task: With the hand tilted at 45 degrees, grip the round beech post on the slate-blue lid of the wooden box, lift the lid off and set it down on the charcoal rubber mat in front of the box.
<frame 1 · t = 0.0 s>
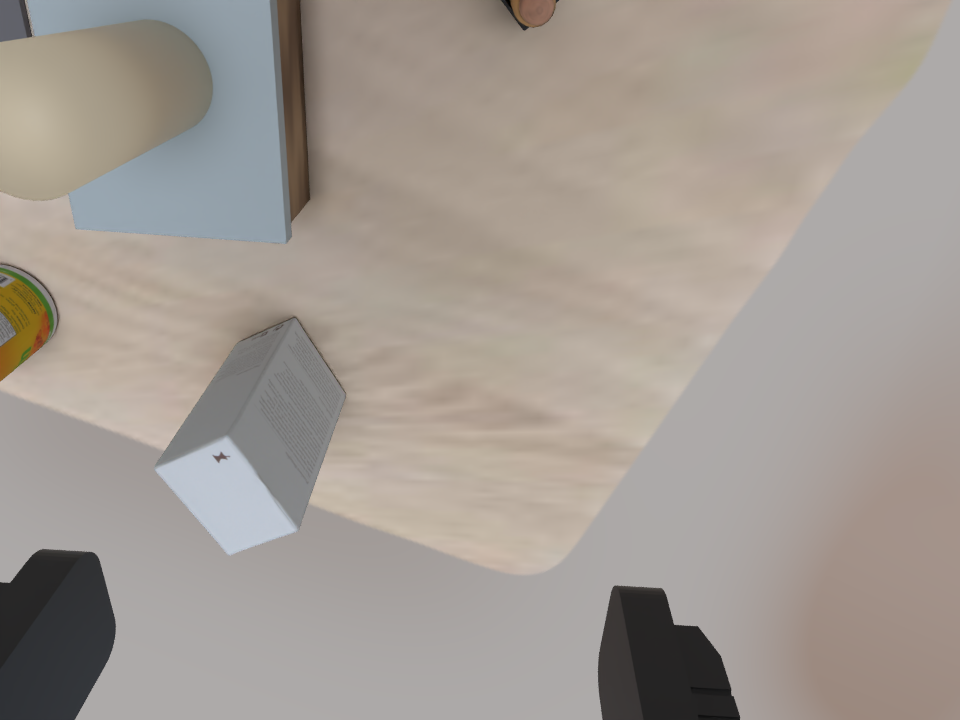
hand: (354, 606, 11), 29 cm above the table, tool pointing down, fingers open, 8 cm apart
wooden box: (210, 61, 35), on the table
supplement bottle: (14, 304, 42), on the table
lid: (168, 75, 31), point 5 cm above the table, touching wooden box
skincare box: (294, 368, 43), on the table
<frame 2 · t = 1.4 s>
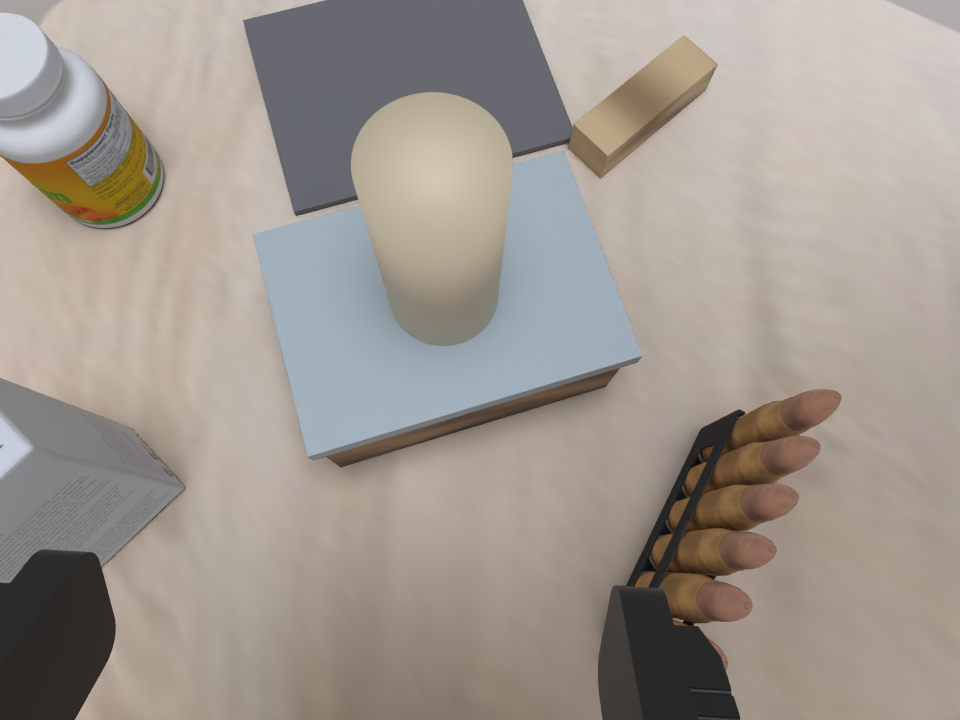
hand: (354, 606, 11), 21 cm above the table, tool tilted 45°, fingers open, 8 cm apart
wooden box: (447, 338, 35), on the table
supplement bottle: (115, 185, 37), on the table
mat: (406, 82, 39), on the table
ammunition clip: (671, 538, 33), on the table
lid: (444, 302, 30), point 5 cm above the table, touching wooden box
wooden block: (636, 121, 39), on the table
skincare box: (108, 504, 33), on the table
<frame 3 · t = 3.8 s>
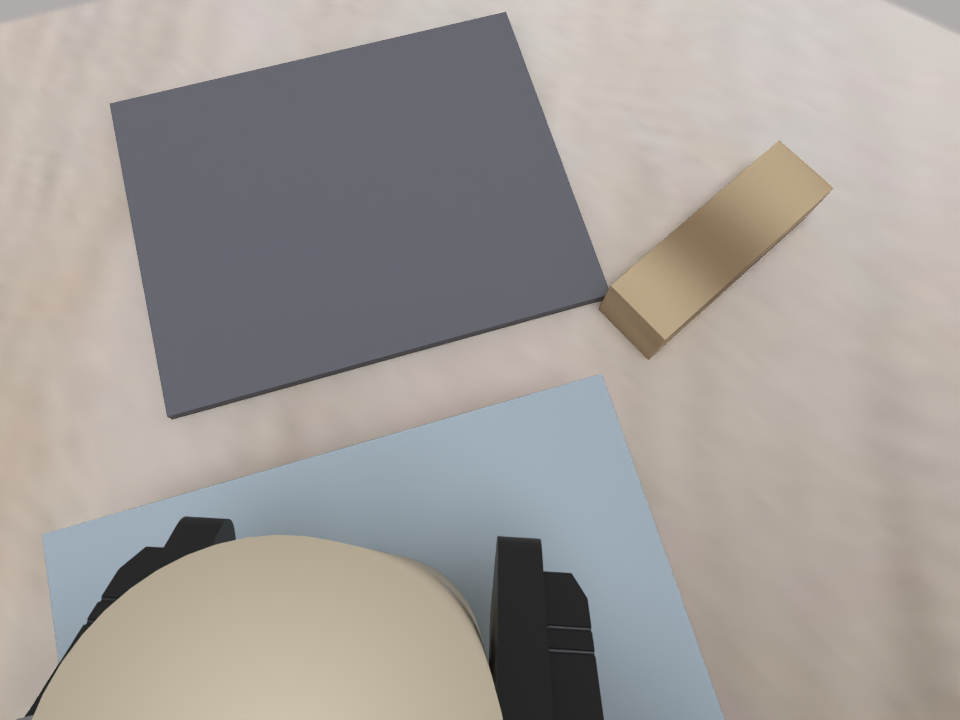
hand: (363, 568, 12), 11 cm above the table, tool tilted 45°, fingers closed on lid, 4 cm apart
mat: (353, 201, 26), on the table
lid: (388, 653, 17), point 5 cm above the table, touching gripper, wooden box
wooden block: (701, 266, 26), on the table
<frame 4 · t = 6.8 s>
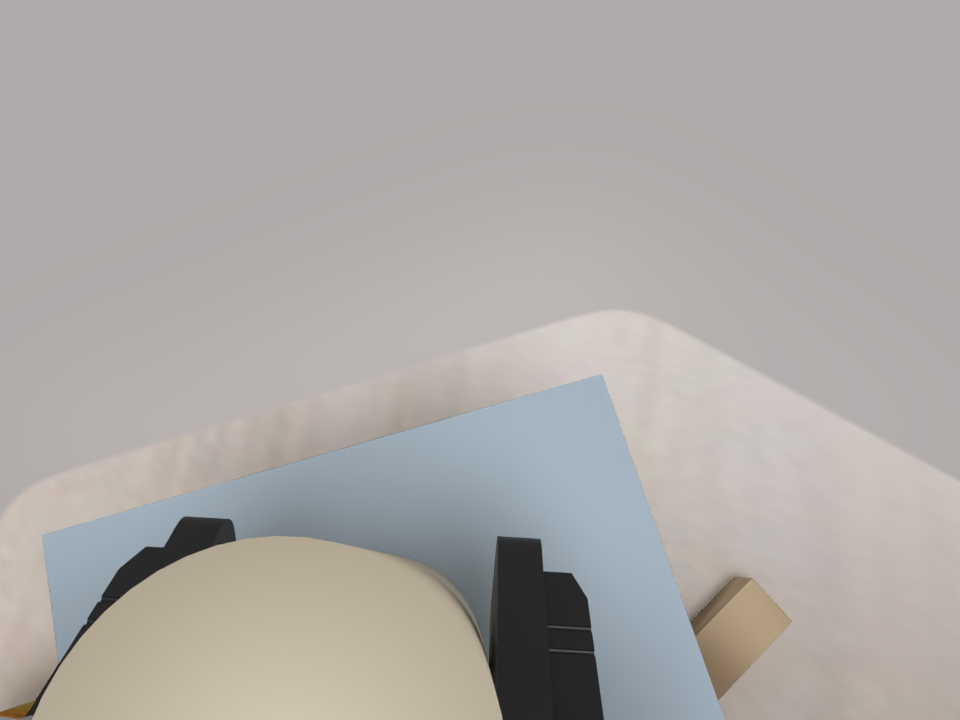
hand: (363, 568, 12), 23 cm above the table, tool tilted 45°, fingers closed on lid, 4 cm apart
lid: (388, 654, 17), point 17 cm above the table, touching gripper
wooden block: (692, 657, 33), on the table
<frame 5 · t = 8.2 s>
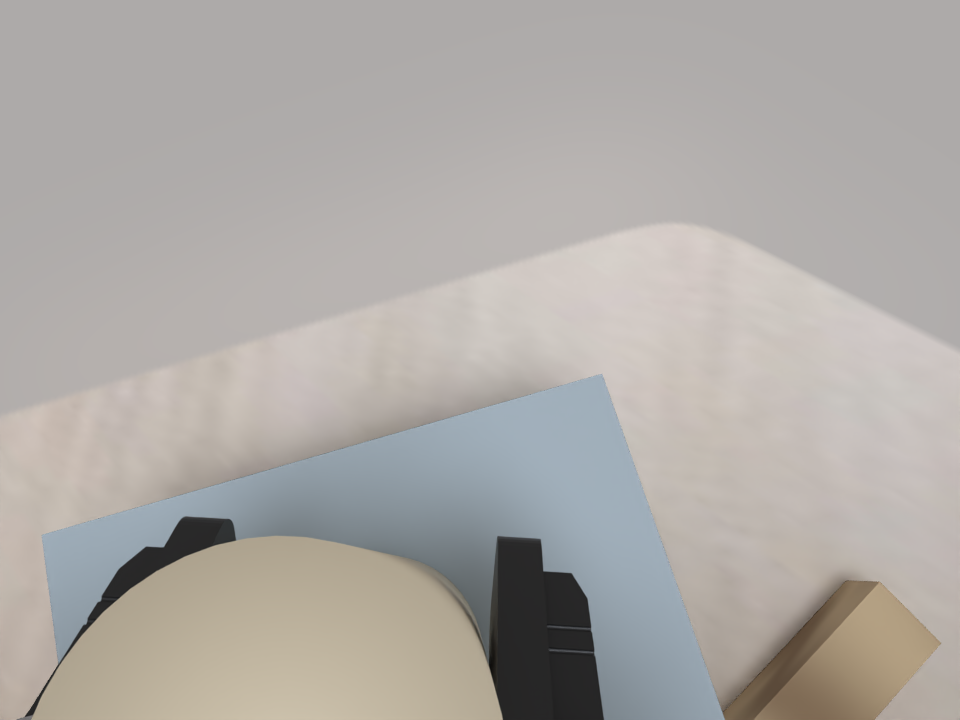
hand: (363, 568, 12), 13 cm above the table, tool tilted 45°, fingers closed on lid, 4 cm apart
lid: (388, 654, 17), point 7 cm above the table, touching gripper
wooden block: (791, 693, 24), on the table
when the fingers open (7 cm above the table, at t = 9.5 s): lid drops 1 cm, resting on mat.
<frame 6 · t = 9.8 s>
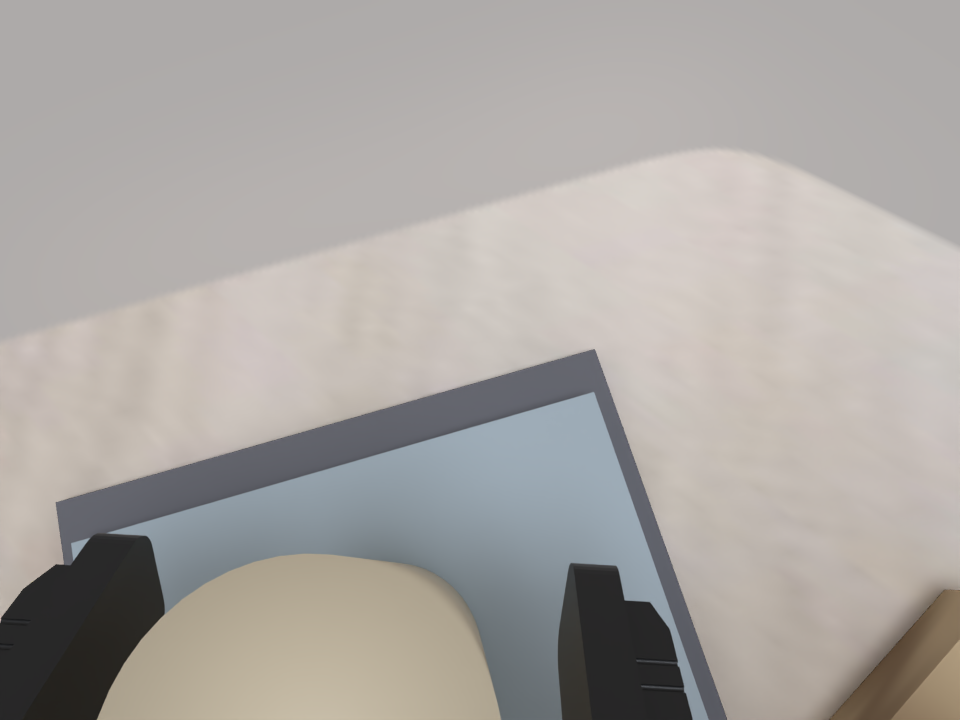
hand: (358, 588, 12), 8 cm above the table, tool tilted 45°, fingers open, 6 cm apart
mat: (393, 647, 19), on the table
lid: (393, 654, 18), resting on mat
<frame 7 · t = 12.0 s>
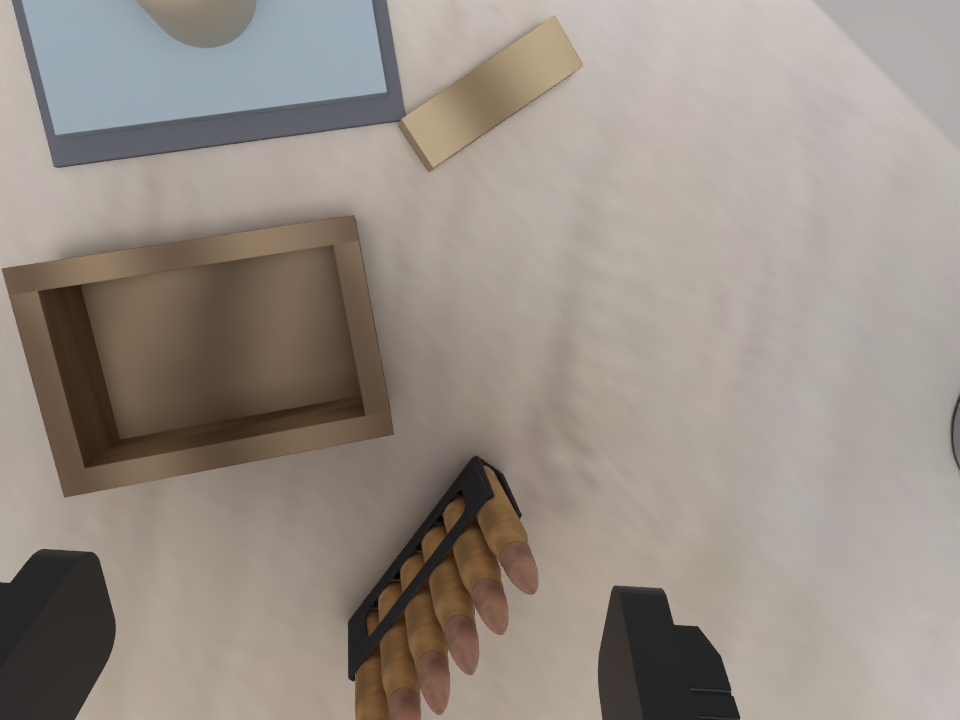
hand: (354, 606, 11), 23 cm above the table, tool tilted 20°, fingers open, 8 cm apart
wooden box: (231, 339, 33), on the table
ammunition clip: (425, 547, 37), on the table
wooden block: (484, 101, 34), on the table
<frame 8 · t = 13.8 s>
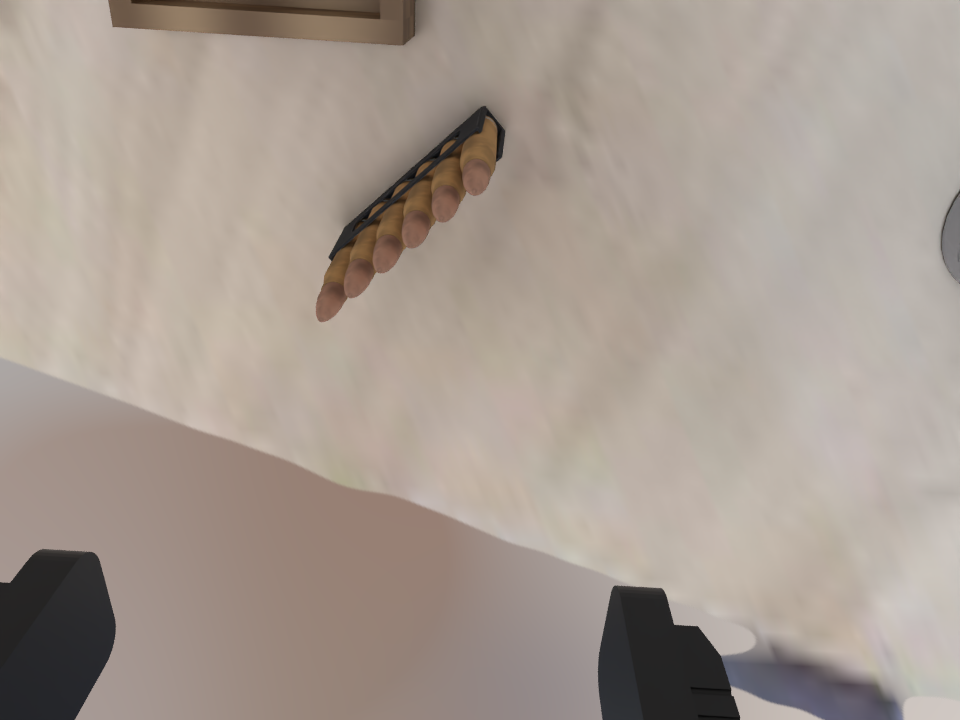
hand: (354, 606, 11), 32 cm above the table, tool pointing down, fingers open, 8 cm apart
ammunition clip: (422, 181, 41), on the table
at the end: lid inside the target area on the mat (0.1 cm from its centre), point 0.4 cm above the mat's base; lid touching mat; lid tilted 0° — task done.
